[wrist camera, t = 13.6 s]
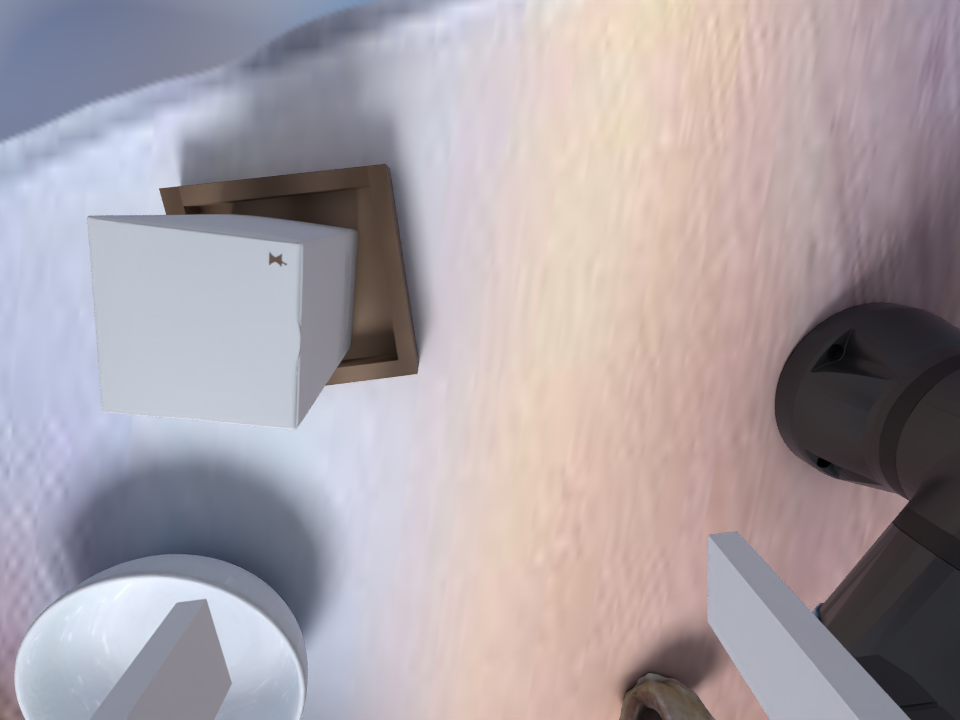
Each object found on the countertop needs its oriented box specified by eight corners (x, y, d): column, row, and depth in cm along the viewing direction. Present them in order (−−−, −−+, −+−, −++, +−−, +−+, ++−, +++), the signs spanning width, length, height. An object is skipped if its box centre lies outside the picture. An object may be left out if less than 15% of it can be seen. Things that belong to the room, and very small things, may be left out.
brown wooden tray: (389, 168, 35) (385, 164, 33) (418, 363, 39) (417, 373, 37) (180, 190, 35) (159, 188, 32) (232, 386, 39) (217, 399, 36)
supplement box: (227, 210, 34) (77, 205, 20) (360, 228, 35) (307, 236, 21) (227, 338, 37) (92, 416, 22) (351, 351, 38) (298, 434, 23)
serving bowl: (361, 572, 44) (348, 635, 38) (271, 739, 49) (245, 821, 42) (120, 482, 40) (58, 535, 34) (45, 673, 45) (-23, 753, 38)
